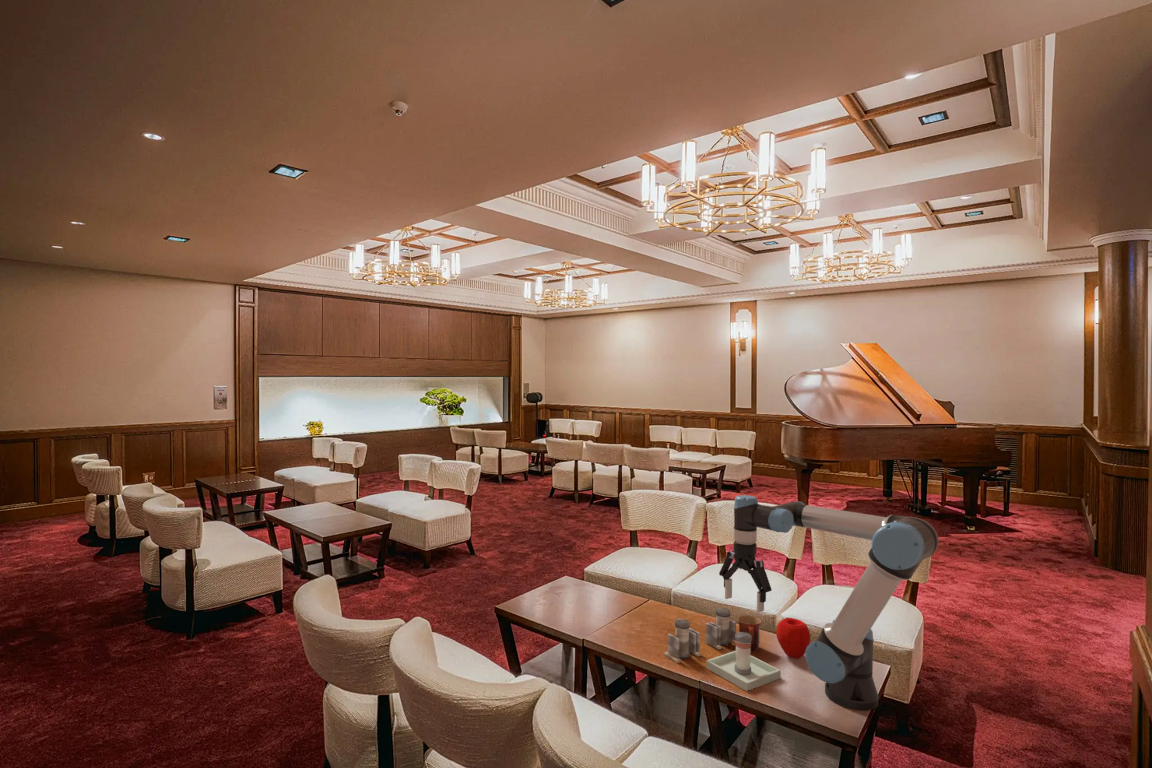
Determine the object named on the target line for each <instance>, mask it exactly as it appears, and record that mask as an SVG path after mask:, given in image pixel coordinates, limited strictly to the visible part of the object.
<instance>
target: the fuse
mask: <svg viewBox="0 0 1152 768" xmlns="http://www.w3.org/2000/svg"><path fill="white" fill-rule="evenodd" d="M735 640H736V643H735V651H736V664H735V672H736V673H738V674H740V675H750V674H751V667H750V657H751V656H752V655H751V652H752V651H751V642H752V636H751V635H750V634H748V633H744V632H739V631H738V632H736V634H735Z"/></svg>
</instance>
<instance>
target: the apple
mask: <svg viewBox="0 0 1152 768" xmlns="http://www.w3.org/2000/svg"><path fill="white" fill-rule="evenodd" d="M775 632H776V633H775V634H776V639H777V642H778V644H779V645H780V647H781V649H782V651H783V652H784V653H785V655H786V656H787V657H788V658H791V659H794V660H798V659H801V658H803V657H804V656H805V651H806V648H807V646H808V645H809V644H810V643H811V633H810V629H809V627H808V625H807V623H805V622H804V621H802V620H801V619H797V618H793V617H785V618H783V619H781V620H780V621H778V624H777V625H776V630H775Z"/></svg>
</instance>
